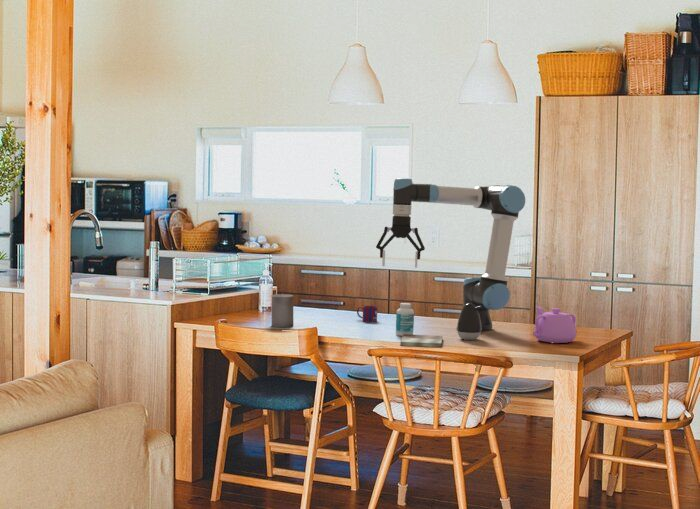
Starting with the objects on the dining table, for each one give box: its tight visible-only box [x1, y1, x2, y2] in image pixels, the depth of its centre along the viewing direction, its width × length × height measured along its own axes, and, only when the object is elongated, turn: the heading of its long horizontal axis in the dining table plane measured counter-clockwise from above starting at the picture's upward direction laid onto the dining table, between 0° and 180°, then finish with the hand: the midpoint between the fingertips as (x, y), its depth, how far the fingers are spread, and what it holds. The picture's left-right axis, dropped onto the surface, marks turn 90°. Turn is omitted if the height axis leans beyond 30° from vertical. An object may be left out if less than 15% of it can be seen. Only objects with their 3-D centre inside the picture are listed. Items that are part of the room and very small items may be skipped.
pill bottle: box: [395, 302, 415, 337], centre depth 396 cm, size 8×7×14 cm
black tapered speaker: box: [456, 303, 483, 341], centre depth 388 cm, size 10×10×15 cm
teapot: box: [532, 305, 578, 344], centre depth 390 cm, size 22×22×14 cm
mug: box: [356, 305, 378, 323], centre depth 438 cm, size 7×10×7 cm
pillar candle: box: [271, 293, 294, 328], centre depth 415 cm, size 10×10×15 cm
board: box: [399, 334, 443, 348], centre depth 378 cm, size 16×20×2 cm
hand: (399, 266), depth 391 cm, fingers open, 13 cm apart
